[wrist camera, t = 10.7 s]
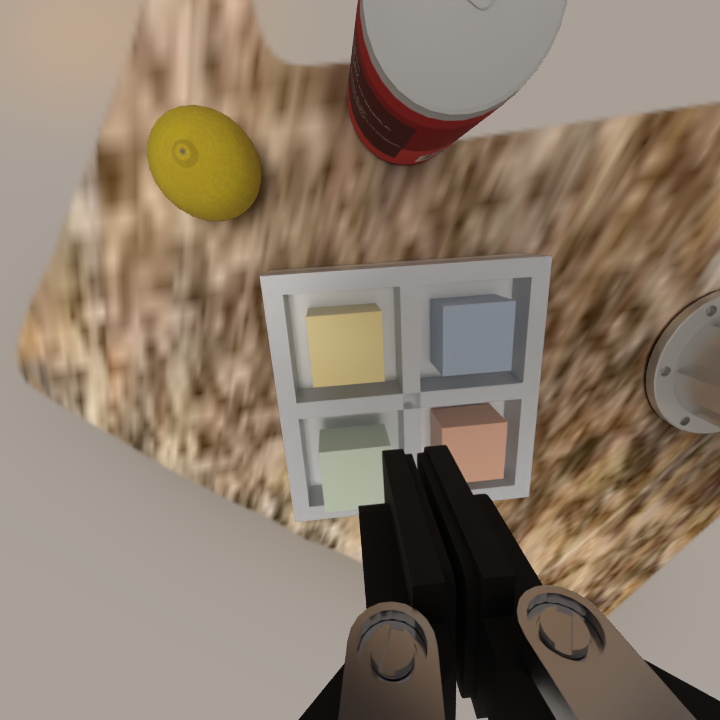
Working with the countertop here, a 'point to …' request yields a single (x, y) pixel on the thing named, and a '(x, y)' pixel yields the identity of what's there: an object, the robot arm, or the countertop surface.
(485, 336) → the key slate
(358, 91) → the canned food
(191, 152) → the lemon
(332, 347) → the key mustard
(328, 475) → the key sage
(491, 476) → the key terracotta
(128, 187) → the countertop surface
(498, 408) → the keypad
